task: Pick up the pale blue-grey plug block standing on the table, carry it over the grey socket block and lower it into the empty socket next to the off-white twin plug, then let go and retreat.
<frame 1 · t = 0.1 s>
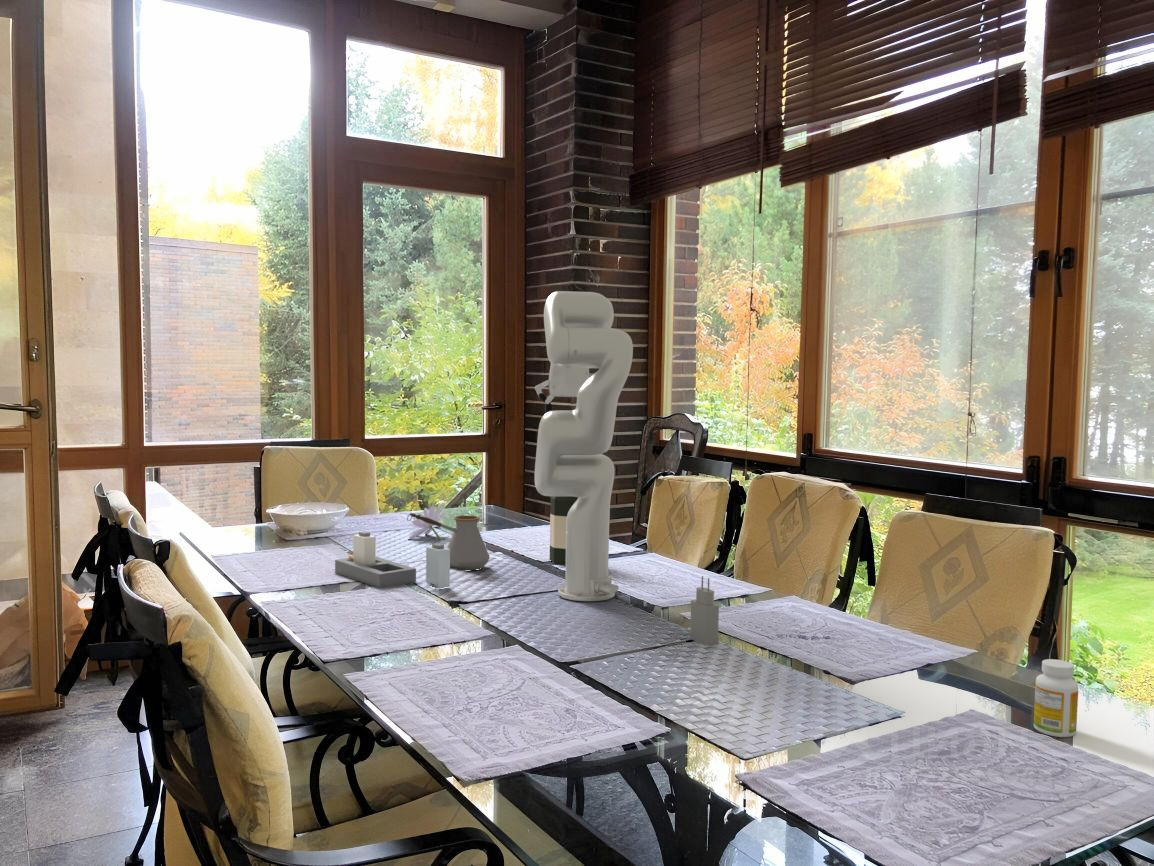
hand: (568, 419, 234), 37 cm above the table, tool pointing down, fingers open, 9 cm apart
grey socket block: (374, 581, 214), on the table
supplement bottle: (1054, 732, 130), on the table
coffee pot: (448, 571, 227), on the table
power adapter: (703, 641, 171), on the table
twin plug: (364, 573, 218), point 1 cm above the table, touching grey socket block
water lily: (426, 538, 271), on the table
wine bottle: (565, 562, 240), on the table
plug: (437, 587, 210), on the table
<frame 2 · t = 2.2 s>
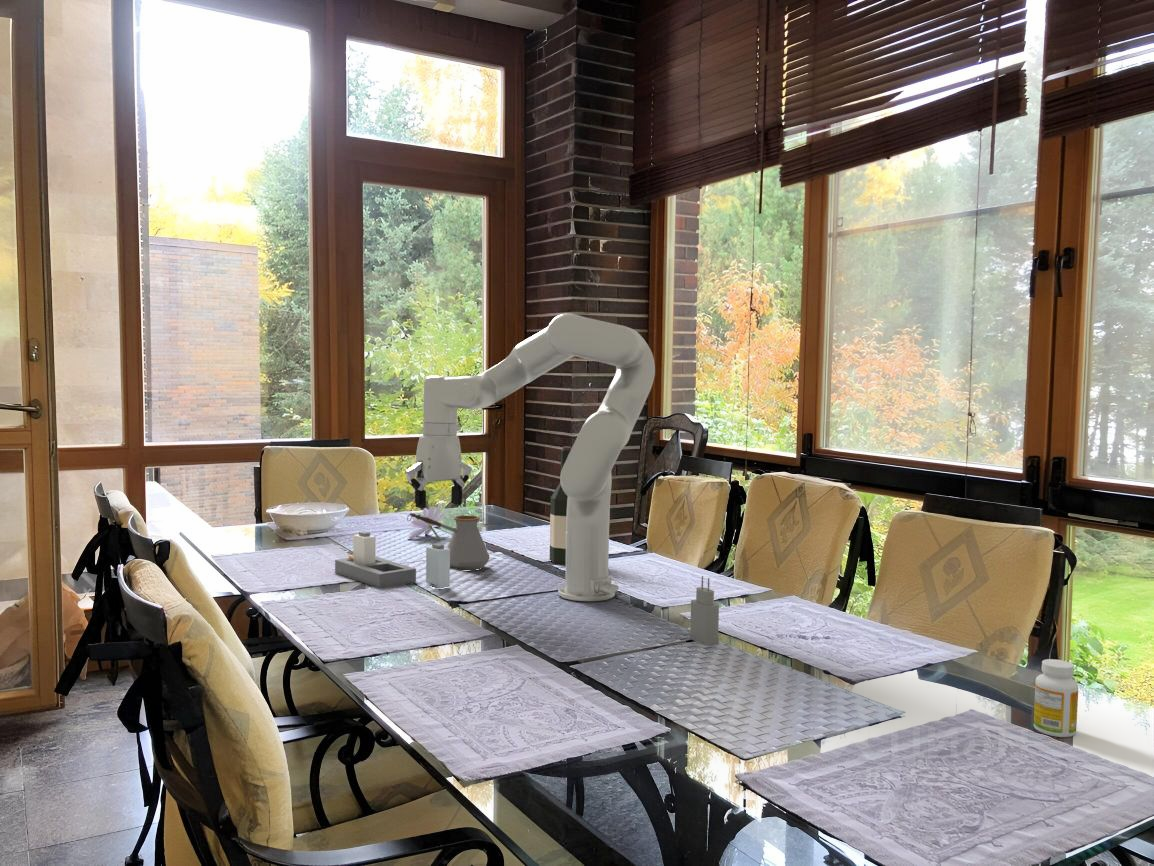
hand: (438, 505, 209), 19 cm above the table, tool pointing down, fingers open, 9 cm apart
nothing on the table moved.
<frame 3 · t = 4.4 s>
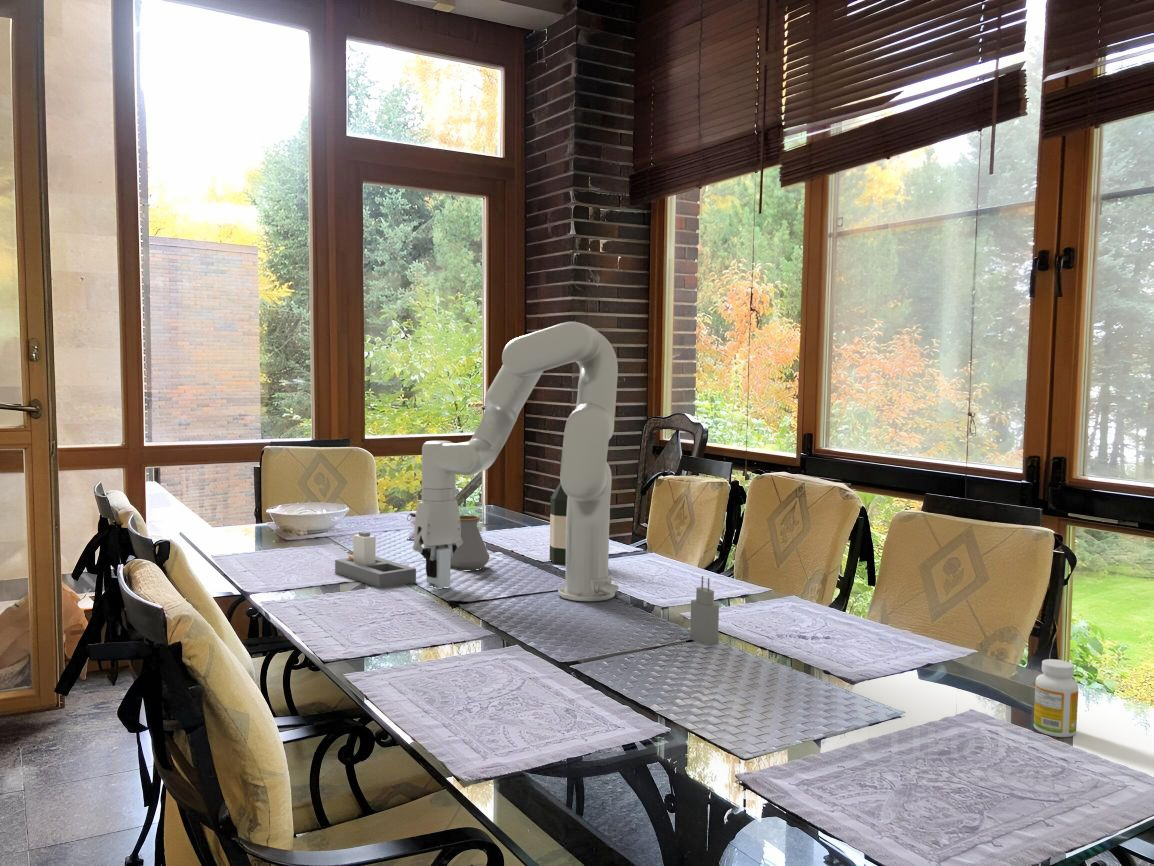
hand: (438, 574, 209), 3 cm above the table, tool pointing down, fingers closed on plug, 2 cm apart
plug: (438, 586, 210), on the table, touching gripper
everything else where it was.
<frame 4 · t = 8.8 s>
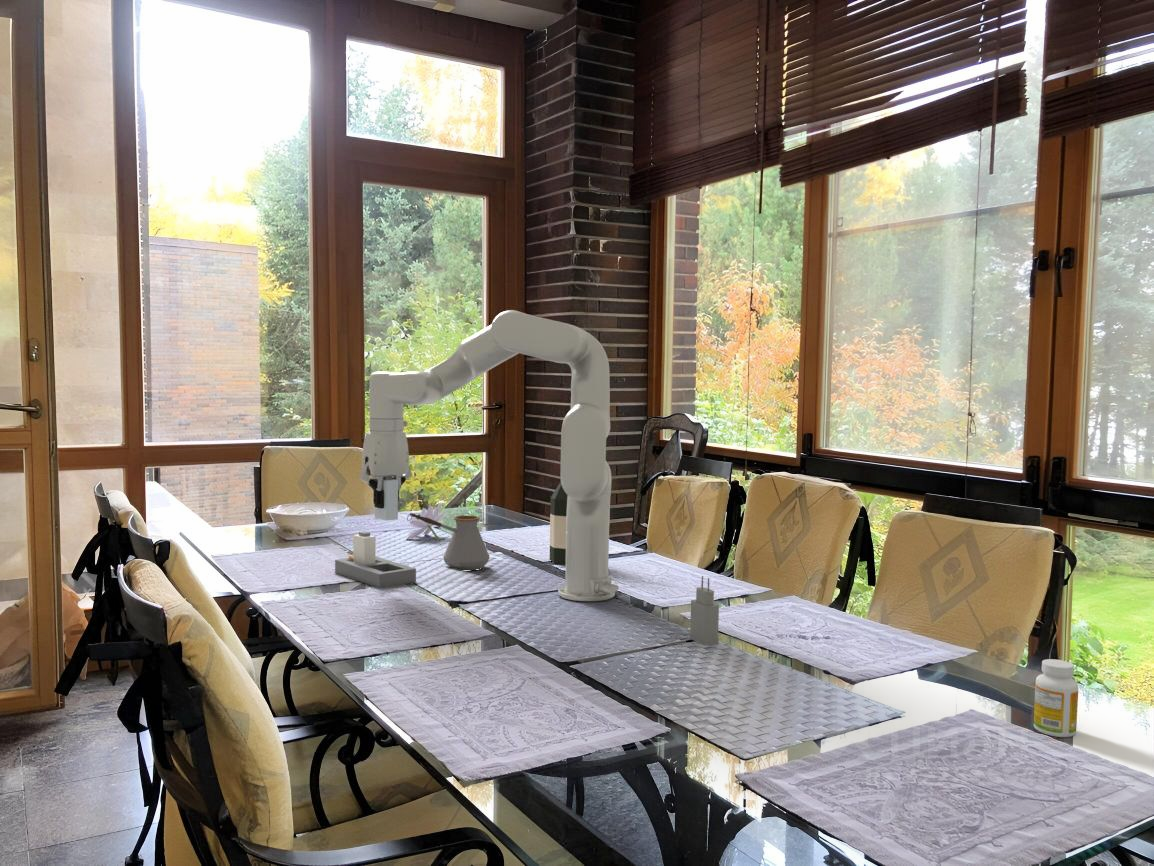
hand: (386, 506, 210), 18 cm above the table, tool pointing down, fingers closed on plug, 3 cm apart
plug: (386, 518, 210), point 15 cm above the table, touching gripper
everything else where it was.
when the fingers open (5 cm above the table, at t = 13.1 s): plug drops 1 cm, resting on grey socket block.
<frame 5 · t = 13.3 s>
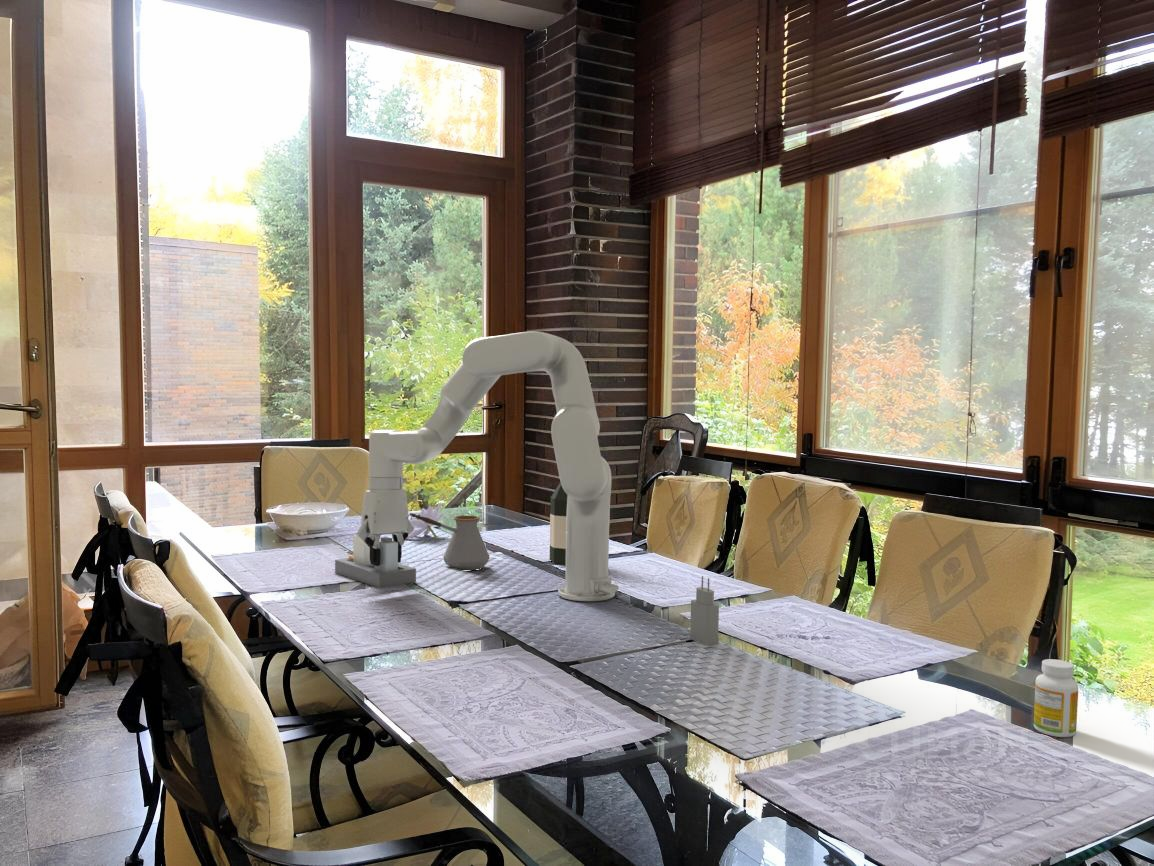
hand: (385, 562, 211), 5 cm above the table, tool pointing down, fingers open, 4 cm apart
plug: (386, 580, 211), point 1 cm above the table, touching grey socket block
everything else where it was.
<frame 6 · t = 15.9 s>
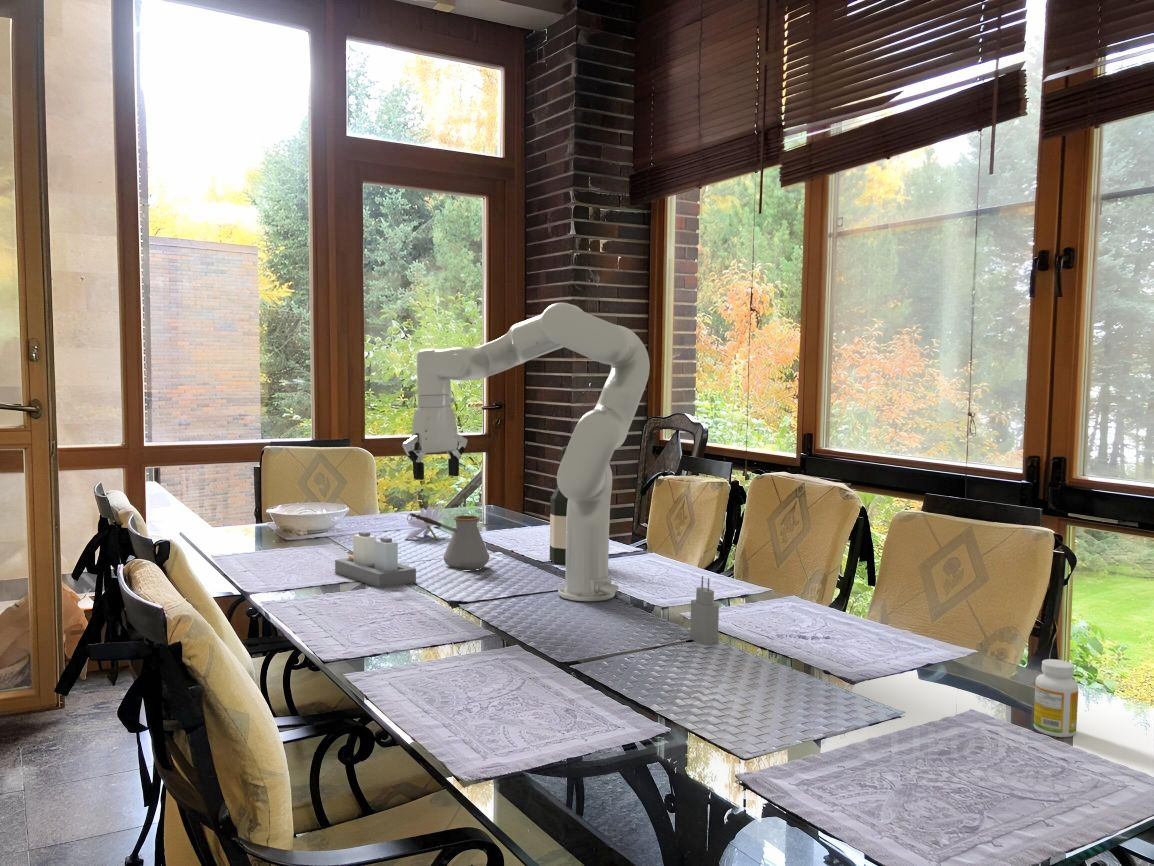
hand: (436, 477, 211), 25 cm above the table, tool pointing down, fingers open, 9 cm apart
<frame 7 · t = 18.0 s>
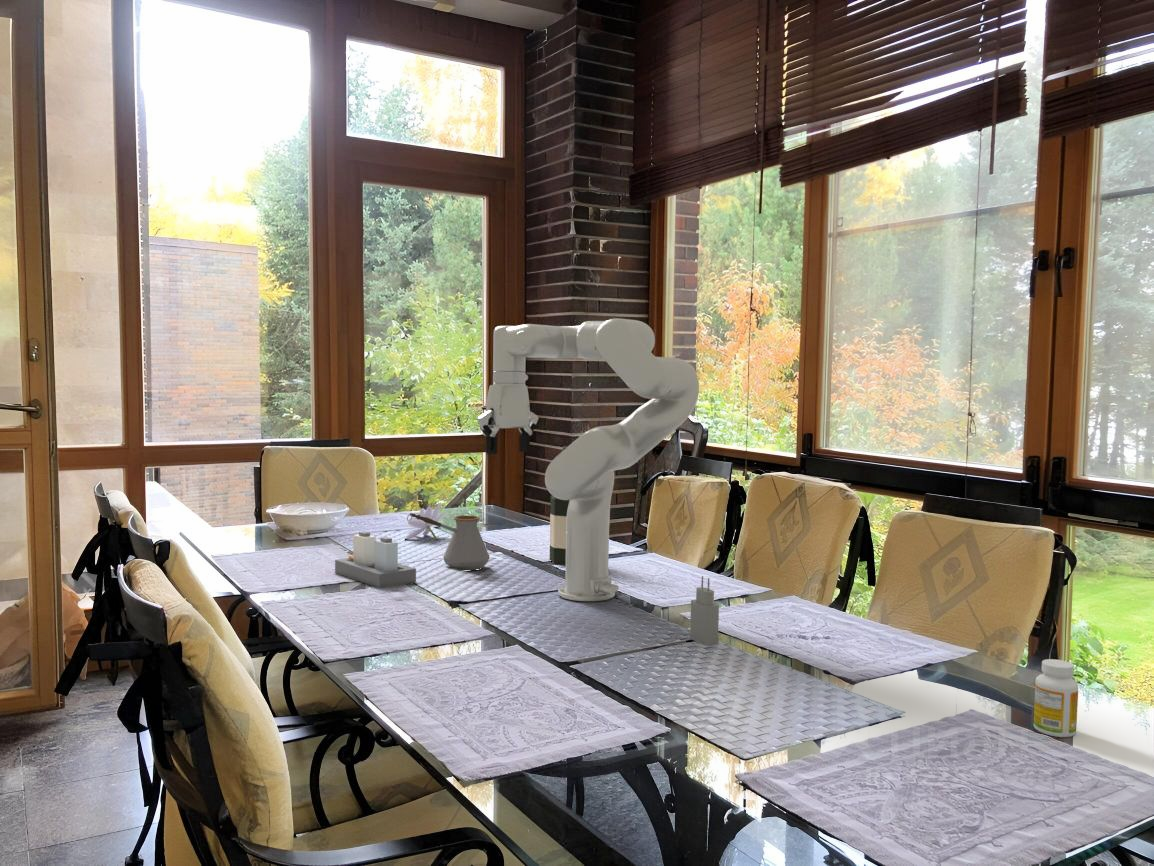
hand: (508, 452, 215), 30 cm above the table, tool pointing down, fingers open, 9 cm apart
at the end: plug 0.2 cm from the target spot on the grey socket block, point 1.0 cm above the grey socket block's base; plug tilted 0°; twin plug 0.2 cm from the target spot on the grey socket block, point 1.0 cm above the grey socket block's base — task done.
